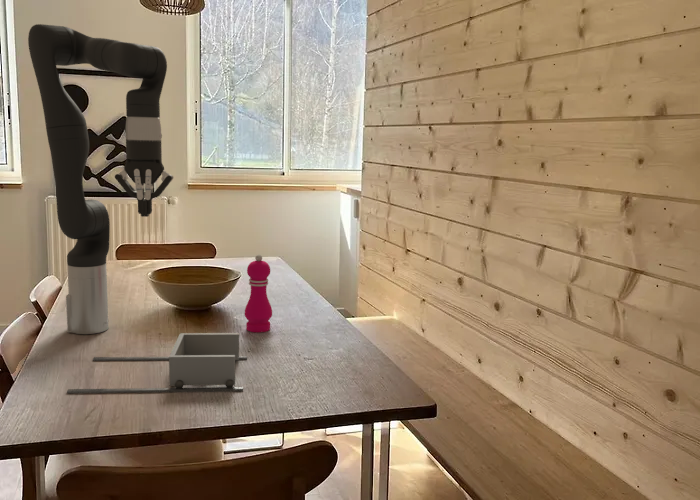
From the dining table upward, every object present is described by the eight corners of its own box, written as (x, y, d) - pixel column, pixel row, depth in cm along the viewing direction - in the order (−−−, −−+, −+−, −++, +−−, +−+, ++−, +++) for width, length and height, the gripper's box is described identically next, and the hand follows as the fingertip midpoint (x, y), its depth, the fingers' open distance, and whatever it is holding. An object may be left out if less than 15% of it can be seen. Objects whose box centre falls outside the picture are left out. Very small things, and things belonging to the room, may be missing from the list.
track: (67, 393, 131) (66, 391, 131) (94, 359, 151) (94, 357, 151) (243, 391, 135) (243, 388, 135) (247, 358, 155) (247, 356, 155)
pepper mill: (267, 334, 173) (267, 258, 170) (240, 331, 175) (240, 256, 171) (275, 326, 180) (276, 253, 177) (250, 324, 182) (250, 251, 178)
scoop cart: (168, 389, 134) (168, 358, 133) (181, 359, 152) (180, 332, 151) (234, 388, 136) (234, 358, 135) (239, 358, 153) (239, 331, 152)
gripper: (108, 137, 144) (110, 217, 147) (171, 139, 145) (172, 218, 148) (116, 137, 151) (118, 213, 154) (176, 139, 153) (177, 214, 156)
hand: (145, 216), depth 151 cm, fingers closed
